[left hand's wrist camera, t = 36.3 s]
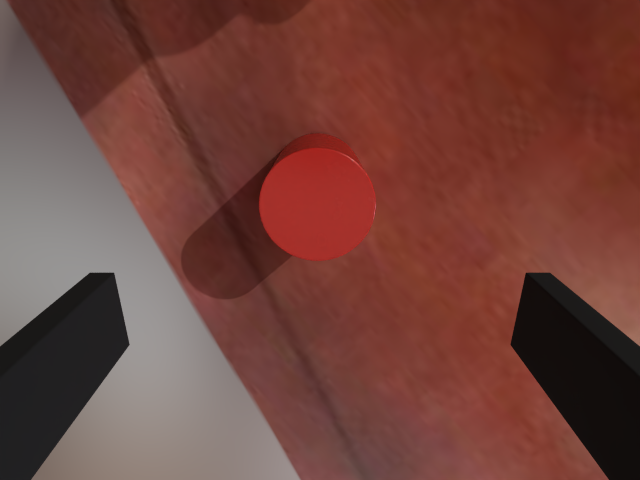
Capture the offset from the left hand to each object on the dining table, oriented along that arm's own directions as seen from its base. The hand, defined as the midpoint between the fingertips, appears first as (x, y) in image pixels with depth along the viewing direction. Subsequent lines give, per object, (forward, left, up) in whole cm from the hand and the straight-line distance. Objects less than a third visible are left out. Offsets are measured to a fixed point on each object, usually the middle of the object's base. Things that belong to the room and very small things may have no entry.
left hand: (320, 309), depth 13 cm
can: (0, 0, -22) cm, 22 cm away
